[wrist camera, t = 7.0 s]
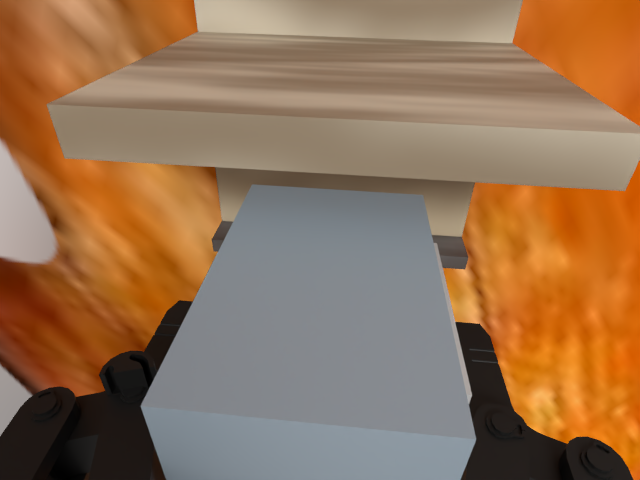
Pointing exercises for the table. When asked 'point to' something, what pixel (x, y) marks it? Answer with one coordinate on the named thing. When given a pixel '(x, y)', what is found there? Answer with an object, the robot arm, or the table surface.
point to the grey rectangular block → (316, 349)
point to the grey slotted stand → (354, 107)
